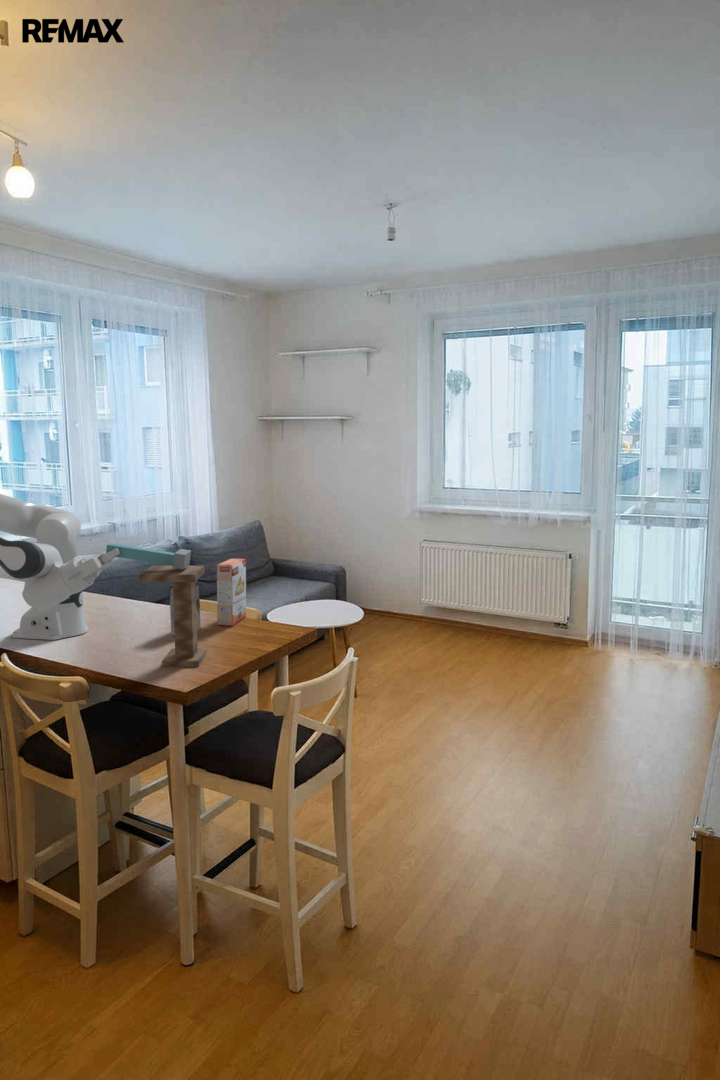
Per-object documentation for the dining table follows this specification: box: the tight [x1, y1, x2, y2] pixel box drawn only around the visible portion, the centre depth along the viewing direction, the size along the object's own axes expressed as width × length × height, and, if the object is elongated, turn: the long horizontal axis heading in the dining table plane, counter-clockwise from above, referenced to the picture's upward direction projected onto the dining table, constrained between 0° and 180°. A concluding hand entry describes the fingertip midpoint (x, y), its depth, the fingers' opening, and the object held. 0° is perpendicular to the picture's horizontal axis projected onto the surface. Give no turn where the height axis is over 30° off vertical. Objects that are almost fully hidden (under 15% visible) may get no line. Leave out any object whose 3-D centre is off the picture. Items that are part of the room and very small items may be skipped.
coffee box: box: [168, 581, 202, 636], centre depth 235 cm, size 9×6×16 cm
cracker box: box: [216, 558, 247, 627], centre depth 249 cm, size 14×6×21 cm, turn 170°
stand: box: [138, 565, 207, 668], centre depth 205 cm, size 15×14×26 cm
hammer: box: [105, 542, 192, 569], centre depth 202 cm, size 22×8×4 cm, turn 92°
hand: (121, 548), depth 202 cm, fingers closed on hammer, 3 cm apart
